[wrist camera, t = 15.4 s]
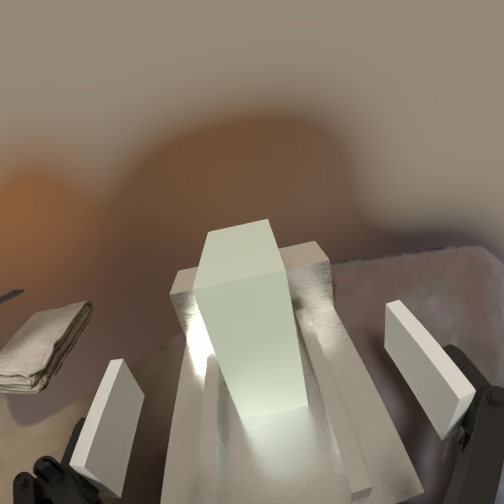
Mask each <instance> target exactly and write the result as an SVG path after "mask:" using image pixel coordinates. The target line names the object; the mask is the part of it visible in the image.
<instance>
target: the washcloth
mask: <svg viewBox="0 0 504 504" xmlns="http://www.w3.org/2000/svg"><path fill="white" fill-rule="evenodd" d="M92 314H93V304H92V303H91V302H90V301H82V302H79V303H74V304H69V305H67V306H65V307H61V308H59V309H55V308H54V309H50V310H45V311H40V312H36V313H35V314H33V315H32V316H31V317H30V318H29V319H28V321H27V322H26V323H25V324H24V325H23V326H22V327H21V328H20V329H19V330H18V331H17V332H16V333H15V334H14V335H13V337H12V338H11V339H10V340H9V341H8V342H7V344H6V345H5V346H4V348H3V349H2V350H1V352H0V392H3V393H27V394H33V393H34V394H35V393H39V392H40V391H42V390H44V389H46V388H47V386H48V385H49V384H50V383H51V382H52V381H53V380H54V379H55V377H56V375H57V373H58V371H59V369H60V368H61V366H62V364H63V360H64V359H65V358H66V357H67V355H68V354H69V352H70V351H71V350H72V348H73V347H74V345H75V343H76V341H77V339H78V337H79V336H80V334H81V333H82V332H83V330H84V328H85V327H86V325H87V324H88V322H89V320H90V319H91V316H92Z"/></svg>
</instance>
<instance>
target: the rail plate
mask: <svg viewBox="0 0 504 504" xmlns="http://www.w3.org/2000/svg"><path fill="white" fill-rule="evenodd" d="M278 250H279V252H280V255H281V258H282V261H283V264H284V267H285V270H286V275H287V281H288V286H289V292H290V297H291V303H292V309H293V315H294V320H295V326H296V332H297V338H298V344H299V350H300V356H301V362H302V369H303V375H304V381H305V388H306V394H307V401H308V406H304V407H299V408H295V409H290V410H285V411H280V412H274V413H269V414H263V415H257V416H250V417H244V418H240V416H239V414H238V411H237V409H236V407H235V404H234V402H233V399H232V397H231V394H230V392H229V389H228V387H227V384H226V382H225V379H224V376H223V374H222V371H221V369H220V366H219V363H218V361H217V358H216V355H215V353H214V350H213V347H212V345H211V342H210V339H209V336H208V334H207V331H206V328H205V325H204V322H203V320H202V317H201V314H200V311H199V308H198V305H197V302H196V299H195V296H194V293H193V290H192V288H193V284H194V280H195V277H196V273H197V270H198V267H194V268H189V269H184V270H180V271H178V273H177V275H176V278H175V281H174V283H173V286H172V289H171V291H170V294H169V295H170V298H171V301H172V303H173V306H174V309H175V311H176V313H177V316H178V319H179V321H180V324H181V327H182V329H183V332H184V334H185V337H186V339H187V341H186V347H185V352H184V357H183V362H182V368H181V373H180V378H179V384H178V390H177V395H176V401H175V407H174V413H173V419H172V425H171V431H170V438H169V444H168V451H167V458H166V465H165V472H164V479H163V487H162V495H161V503H160V504H405V503H407V502H410V501H412V500H414V499H417V498H419V497H421V496H422V494H423V493H424V490H423V488H422V485H421V483H420V481H419V478H418V476H417V474H416V472H415V469H414V467H413V465H412V463H411V461H410V458H409V456H408V454H407V452H406V450H405V448H404V445H403V443H402V441H401V439H400V437H399V435H398V433H397V431H396V428H395V426H394V424H393V422H392V420H391V418H390V416H389V414H388V412H387V410H386V408H385V406H384V404H383V402H382V400H381V398H380V396H379V394H378V392H377V390H376V388H375V386H374V384H373V382H372V380H371V378H370V376H369V374H368V372H367V370H366V368H365V366H364V364H363V362H362V360H361V358H360V356H359V354H358V352H357V350H356V349H355V347H354V345H353V343H352V341H351V339H350V337H349V335H348V333H347V331H346V330H345V328H344V326H343V324H342V322H341V320H340V318H339V317H338V315H337V313H336V311H335V309H334V299H333V289H332V279H331V270H330V262H329V259H328V258H327V256H326V255H325V254H324V252H323V251H322V250H321V248H320V247H319V246H318V244H317V243H316V242H315V241H313V242H308V243H304V244H299V245H294V246H290V247H285V248H281V249H278Z"/></svg>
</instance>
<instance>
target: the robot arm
mask: <svg viewBox="0 0 504 504" xmlns="http://www.w3.org/2000/svg"><path fill="white" fill-rule="evenodd" d="M384 347H385V349H386V350H387V352H388V353H389V355H390V356H391V358H392V360H393V361H394V363H395V364H396V366H397V367H398V369H399V371H400V372H401V374H402V375H403V377H404V378H405V380H406V382H407V383H408V385H409V386H410V388H411V390H412V391H413V393H414V395H415V396H416V398H417V399H418V401H419V403H420V404H421V406H422V408H423V409H424V411H425V413H426V414H427V416H428V418H429V420H430V421H431V423H432V425H433V426H434V428H435V430H436V431H437V433H438V435H439V437H440V438H441V440H442V441H443V440H445V439H447V438H449V437H451V436H453V435H455V434H457V433H458V430H459V428H460V426H462V427H463V429H464V430H465V432H464V434H463V436H462V438H461V439H460V441H459V444H461V446H460V450H459V454H458V458H457V461H456V465H455V468H454V471H453V475H452V478H451V481H450V484H449V487H448V490H447V493H446V496H445V498H444V501H443V504H494V502H495V498H496V494H497V490H498V486H499V481H500V477H501V472H502V466H503V461H504V388H502V387H499V386H492V385H491V384H490V383H489V382H488V381H487V380H486V379H485V377H484V376H483V375H482V374H481V373H480V371H479V370H478V369H477V368H476V367H475V366H474V364H472V362H471V361H470V360H469V359H468V358H467V356H466V355H465V354H464V353H463V352H462V351H461V350H460V349H459V348H457V347H455V346H453V345H451V344H450V345H447V346H445V347H443V348H441V347H440V345H439V344H438V343H437V342H436V341H435V340H434V338H433V337H432V336H431V335H430V334H429V333H428V331H427V330H426V329H425V328H424V327H423V326H422V325H421V323H420V322H419V321H418V320H417V319H416V318H415V317H414V316H413V314H412V313H411V312H410V311H409V310H408V309H407V308H406V307H405V306H404V304H403V303H402V302H401V301H400V300H397V301H394V302H391V303H387V304H386V317H385V344H384ZM144 396H145V395H144V394H143V392H142V390H141V389H140V387H139V385H138V384H137V382H136V380H135V379H134V377H133V375H132V373H131V372H130V370H129V368H128V366H127V364H126V363H125V361H124V359H116V360H111V361H110V363H109V365H108V368H107V370H106V373H105V375H104V377H103V379H102V381H101V384H100V386H99V389H98V391H97V393H96V396H95V398H94V401H93V403H92V405H91V408H90V410H89V413H88V415H87V418H81V419H80V420H79V421H78V423H77V424H76V425H75V427H74V430H73V432H72V436H71V437H70V440H69V442H68V445H67V448H66V450H65V453H64V456H63V458H62V461H61V464H59V463H58V462H57V461H56V460H55V459H54V458H53V457H51V456H43V457H41V458H39V459H38V460H37V461H36V463H35V464H34V467H33V473H34V474H35V475H36V476H37V477H38V478H34V477H33V476H32V475H31V474H30V473H28V472H21V473H19V474H18V475H17V476H16V477H15V479H14V482H13V503H14V504H103V502H102V500H101V499H100V498H99V497H98V493H99V491H100V492H101V493H103V494H104V495H105V496H107V497H114V498H121V495H122V490H123V485H124V480H125V476H126V471H127V466H128V462H129V457H130V453H131V449H132V444H133V440H134V436H135V432H136V428H137V424H138V420H139V416H140V412H141V408H142V404H143V400H144Z"/></svg>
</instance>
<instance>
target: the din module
mask: <svg viewBox="0 0 504 504" xmlns="http://www.w3.org/2000/svg"><path fill="white" fill-rule="evenodd" d="M192 290H193V293H194V296H195V299H196V302H197V305H198V308H199V311H200V314H201V317H202V320H203V322H204V325H205V328H206V331H207V334H208V336H209V339H210V342H211V345H212V347H213V350H214V353H215V355H216V358H217V361H218V363H219V366H220V369H221V371H222V374H223V376H224V379H225V382H226V384H227V387H228V389H229V392H230V394H231V397H232V399H233V402H234V404H235V407H236V409H237V411H238V414H239V416H240V418H244V417H250V416H257V415H263V414H269V413H274V412H280V411H285V410H290V409H295V408H299V407H304V406H308V401H307V394H306V388H305V381H304V375H303V369H302V362H301V356H300V350H299V344H298V338H297V332H296V326H295V320H294V315H293V309H292V303H291V297H290V292H289V286H288V281H287V275H286V270H285V267H284V264H283V261H282V258H281V255H280V252H279V250H278V247H277V244H276V241H275V238H274V235H273V233H272V230H271V227H270V224H269V221H268V219H266V220H261V221H256V222H252V223H247V224H243V225H238V226H234V227H229V228H224V229H220V230H216V231H211V232H208V235H207V238H206V242H205V245H204V249H203V252H202V255H201V259H200V263H199V266H198V270H197V273H196V277H195V280H194V284H193V288H192Z"/></svg>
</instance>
